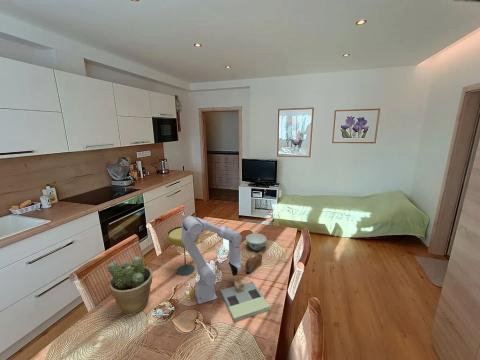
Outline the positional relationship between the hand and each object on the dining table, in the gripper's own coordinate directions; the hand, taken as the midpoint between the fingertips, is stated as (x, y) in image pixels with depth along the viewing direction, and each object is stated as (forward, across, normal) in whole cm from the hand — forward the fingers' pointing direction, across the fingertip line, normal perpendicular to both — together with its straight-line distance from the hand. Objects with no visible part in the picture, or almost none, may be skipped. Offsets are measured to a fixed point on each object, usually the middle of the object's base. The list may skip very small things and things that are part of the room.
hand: (234, 274), depth 120 cm
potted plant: (+6, +4, +50) cm, 51 cm away
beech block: (+4, -7, 0) cm, 8 cm away
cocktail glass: (+6, +23, +23) cm, 33 cm away
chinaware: (+6, +30, -28) cm, 41 cm away
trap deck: (+6, -14, 0) cm, 15 cm away
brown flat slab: (+6, +9, -16) cm, 19 cm away
